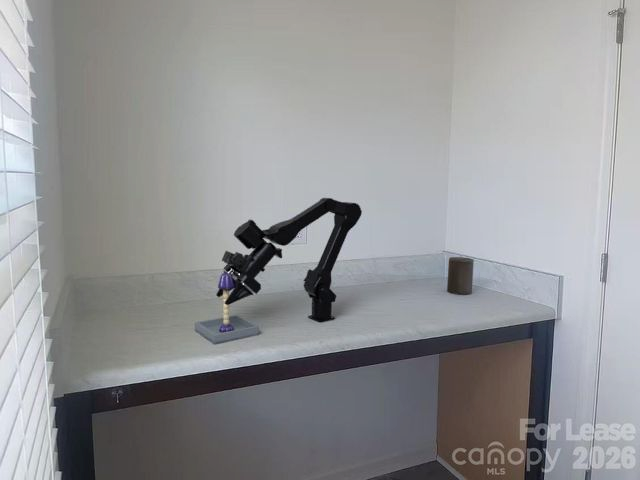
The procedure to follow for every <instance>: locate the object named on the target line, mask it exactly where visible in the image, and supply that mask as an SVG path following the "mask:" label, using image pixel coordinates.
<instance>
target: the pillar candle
mask: <svg viewBox="0 0 640 480" xmlns="http://www.w3.org/2000/svg"><path fill="white" fill-rule="evenodd" d="M474 260H475V259H474V258H470V257H463V256H452V257H451V256H450V257H449V258H448V268H447V281H446V283H447V286H446V292H448V293H449V294H454V295H460V296H461V295H462V296H465V295H467V294H468V295H472V293H473V281H474V278H473V277H474V262H475V261H474ZM468 295H467V296H468Z"/></svg>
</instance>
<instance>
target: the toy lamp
mask: <svg viewBox="0 0 640 480" xmlns="http://www.w3.org/2000/svg"><path fill="white" fill-rule="evenodd" d="M234 287H235V286H234V282H233V278H232V275H231V274H230V273H224V272H223V273H221V274H220V276H219V280H218V285H217V288H218V290H219V289H223V295H222V308H223V309H222V310H223V311H222V313H223V316H222V317H223V319H224V320H223V325H221V326H220V328H219V332H222V333H224V332H229V331H234V328H233V326H232V325H231V324H229V316H230V304H229V305H226V304H225V301H226V300H227V298H228V297H229V295H230V291H229V289H232V288H234ZM232 290H233V289H232Z"/></svg>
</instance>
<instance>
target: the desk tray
mask: <svg viewBox="0 0 640 480" xmlns="http://www.w3.org/2000/svg"><path fill="white" fill-rule="evenodd" d="M223 320H224V319H223V316H222V317H217V318H211V319H207V320H206V319H205V320H201V321H195V322H194V331H195V332H196V333H198V334H199V335H201V336H202V337H203V338H205V339H206V340H207V341H209V342H211V343H212V344H213V345H214V346H215V345H219V344H224V343H228V342H232V341H237V340H242V339H246V338H251V337H255V336H260V325H257V324H256V323H254V322H252V321H249V320H248V319H246V318H244V317H242V316H240V315H239V314H234V315H229V324H231V325H232V326H233V328H234V331H229V332H224V333H222V332H219V328H220V326H221V325H223Z"/></svg>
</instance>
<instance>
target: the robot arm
mask: <svg viewBox="0 0 640 480" xmlns="http://www.w3.org/2000/svg"><path fill="white" fill-rule="evenodd" d="M328 213H332V214H334V215H333V220H334V221H333V223H334V224H333V225H334V226H333V229H332V231H331V234H330V235H329V238H328V240H327V243H326V244H325V247H324V250H323V252H322V254H321V257H320V259H319V261H318V264H317V265H316V267H315V268H314V269H311V268H310V269H308V270H307V272H306V276H305V277H304V278H303V282H304V283H303V288H304V290H305V292H306V293H307V295H308V297H309V298H310V299H311V315H307V318H309V319H311V320H313V321H316V322H317V323H324V322H327V321H331V320H332V321H333V320H335V319H336V317H335V316H332V303H334V302H336V299H337V295H336V294H335V292H334V291H332V289H331V285H332V272H333V268H334V267H335V263H337V259H338V257H339V254H340V253H341V250H342V247H343V245H344V242H345V240H346V238H347V235H348V233H349V232H350V231H351V229H353V228H354V226H356V225H357V223H358V221H359V220H360V218H361V216H362V213H363V210H362V209H361V206H360V204H358V203H357V202H348V201H339V200H336V199H334V198H331V197H322V198H320V199H319V200H318V201H316V202H315V203H313V204H312V205H310V206H309V207H307V208H306V209H304V210H302V211H301V212H300V213H298V214H296V215H295V216H294V217H292V218H289V219H287V220H282V221H280V222H278V223H274V224H273V225H271V226H270V227H269V228H268V229H261V228H260V227H259V226H258V225H257V223H256V222H255V220H253V219H248V221H246V222H244V223H242V224H241V225H240V226H238V227H237V228H236V229H235V231H234V233H233V236H234V237H235V238H236V239H237V240H238V241H239V242H240V243H241V244H242V245H243V246H244V247H245V248H246V249H247V250H250V249H252V251H251V252H250V253H249V255H248V254H242V253H240V252H238V251H236V252H235V253H233V252H230V251H228V250H225V252H224V254H223V256H222V259H221V261H222V262H223V263H225V264H226V265H225V266H224V267H223V273H230V274H231V275H232V278H233V282H234V286H235V287H234V288H232V289H229V292H230V291H231V292H230V293H229V297H228V298H227V300H226V301H225V304H226V305H229V306H230V305H231V304H234V303H236V302H238V301H240V300H242V299H245V298H247V297H250V296H253V295H254V294H255V295H257V294H258V293H259V292H260V291H261V290H262V284H261V283H260V282H259V281H258V280H257V279H255V278H256V277H257V276H258V275H259V274H260V273H261V272H262V273H264V272H265V271H266V269H265V267H266V266H267V265H268V264H269V262H270V261H271V260H272V259H273V258H274V257H277V258H279V259H282V258H283V249H282V248H280V247H277V246H276V245H278V246H284V247H285V246H287V245H289V244H290V243H291V242H292V241H293V240H295V239H296V238H297V236H298V235H299V233H300V232H301V231H302V230H303V229H305V228H307V227H308V226H310V225H311V224H312V223H315V222H316V221H317V220H319V219H320V218H321V217H323V216H325V215H326V214H328ZM265 239H266V240H268V241H269V242H267V241H266V240H265ZM215 295H216V297H217V298H220V297H223V289H219V288H218V290H217V293H216V294H215Z"/></svg>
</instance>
